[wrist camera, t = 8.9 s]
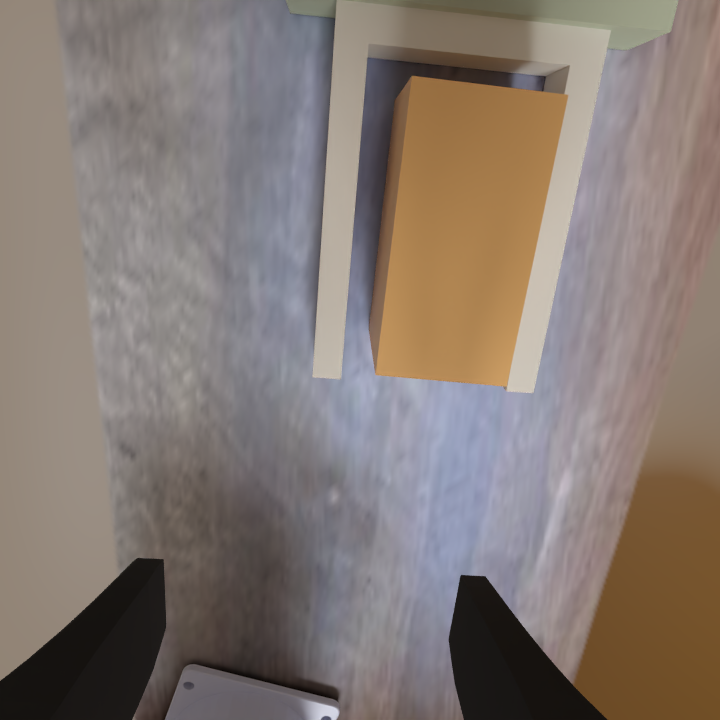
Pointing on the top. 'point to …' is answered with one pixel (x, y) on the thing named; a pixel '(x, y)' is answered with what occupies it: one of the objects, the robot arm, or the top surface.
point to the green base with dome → (476, 51)
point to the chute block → (460, 227)
